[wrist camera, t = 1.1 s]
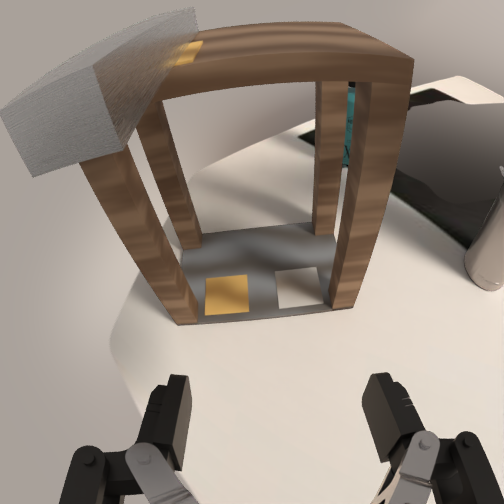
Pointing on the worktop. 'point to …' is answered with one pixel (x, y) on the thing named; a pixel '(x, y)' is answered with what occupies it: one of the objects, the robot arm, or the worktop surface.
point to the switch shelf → (325, 176)
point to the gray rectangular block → (97, 94)
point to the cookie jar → (502, 170)
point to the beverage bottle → (349, 122)
